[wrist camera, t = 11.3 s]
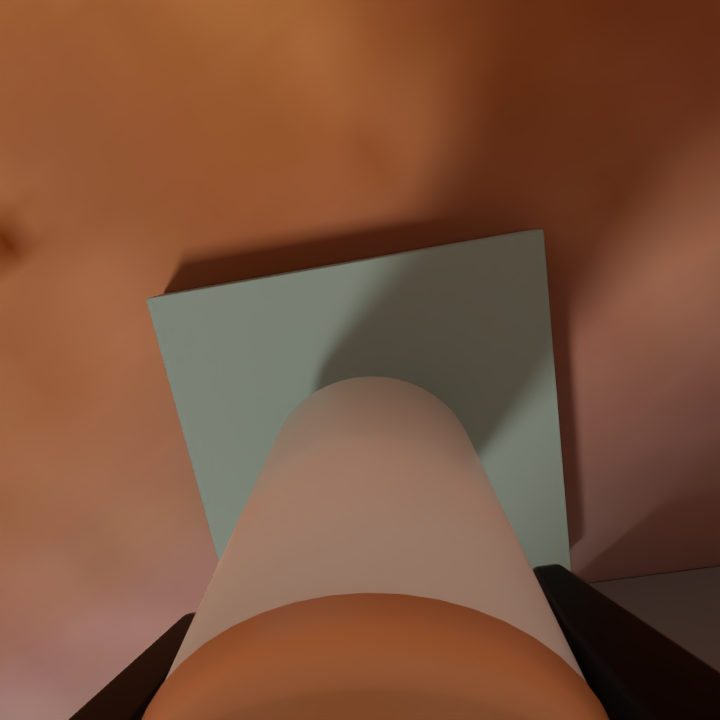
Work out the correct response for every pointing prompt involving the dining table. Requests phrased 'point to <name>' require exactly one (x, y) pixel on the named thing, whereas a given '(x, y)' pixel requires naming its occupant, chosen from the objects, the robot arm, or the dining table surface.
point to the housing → (676, 607)
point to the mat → (377, 366)
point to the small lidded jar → (374, 582)
